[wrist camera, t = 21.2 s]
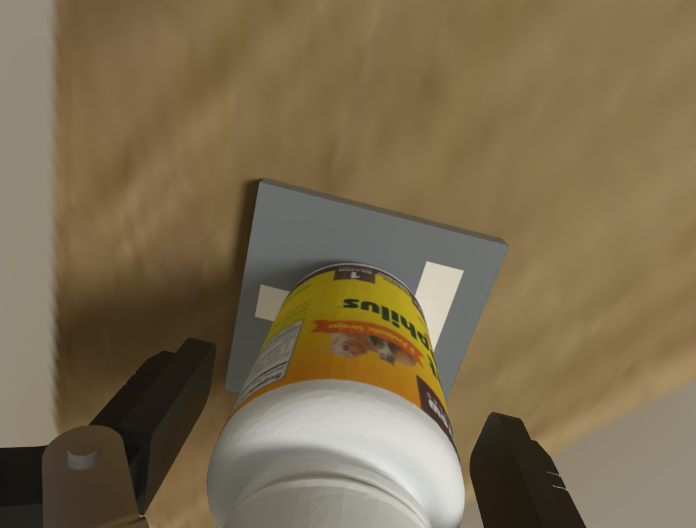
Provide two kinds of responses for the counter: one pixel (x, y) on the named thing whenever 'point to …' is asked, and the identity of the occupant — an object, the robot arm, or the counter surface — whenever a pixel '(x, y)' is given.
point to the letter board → (364, 248)
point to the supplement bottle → (340, 416)
